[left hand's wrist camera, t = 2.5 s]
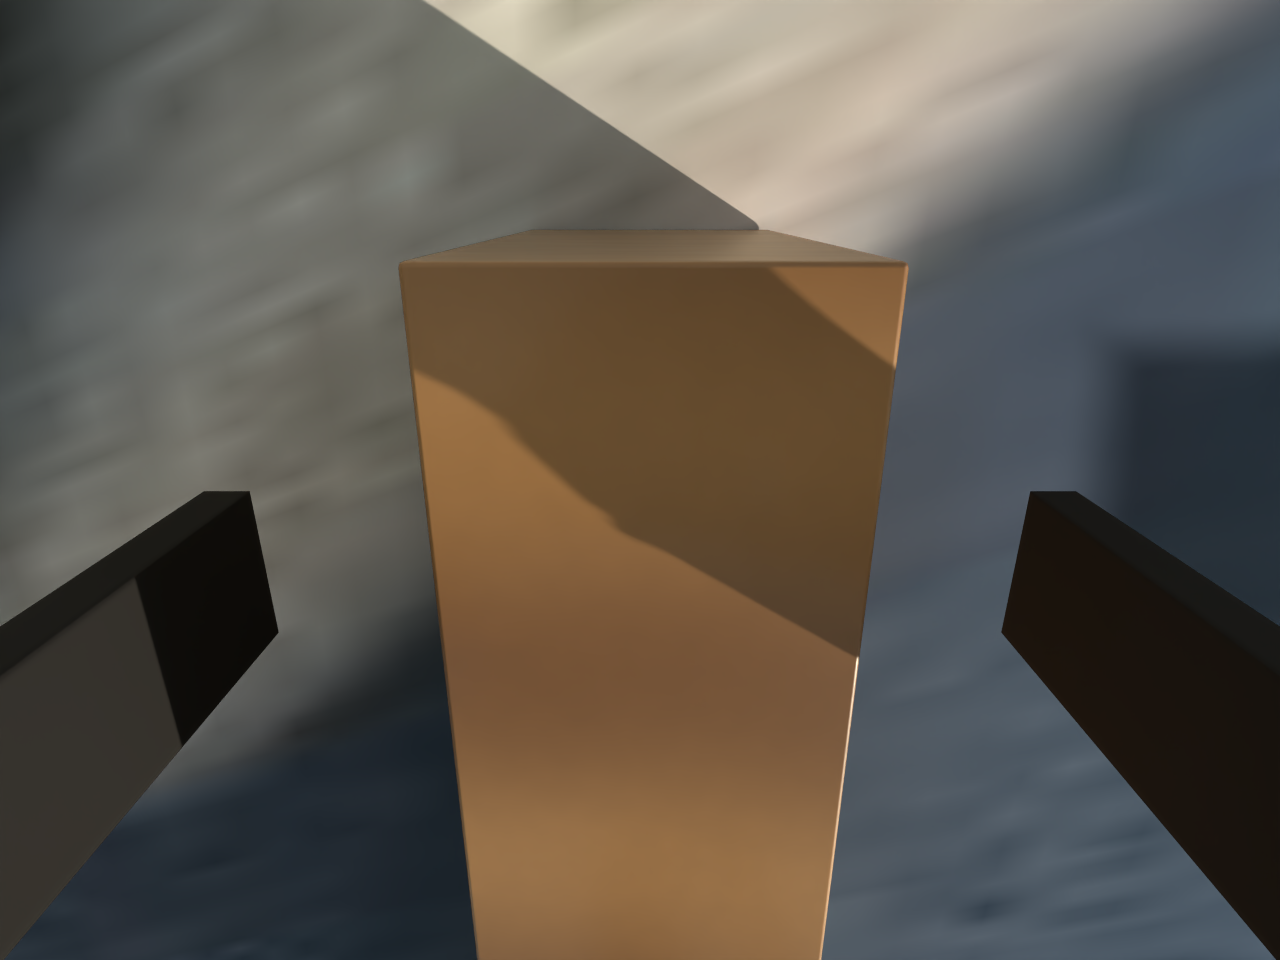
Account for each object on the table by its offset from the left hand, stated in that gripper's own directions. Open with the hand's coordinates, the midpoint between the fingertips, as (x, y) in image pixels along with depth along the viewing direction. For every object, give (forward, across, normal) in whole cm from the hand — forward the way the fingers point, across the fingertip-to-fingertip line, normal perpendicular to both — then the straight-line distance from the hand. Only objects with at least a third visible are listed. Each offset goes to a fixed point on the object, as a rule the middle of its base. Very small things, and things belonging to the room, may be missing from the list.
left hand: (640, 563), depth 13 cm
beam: (+4, 0, -24) cm, 25 cm away
